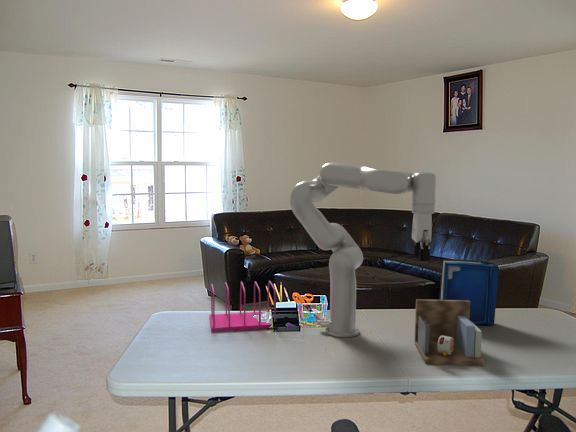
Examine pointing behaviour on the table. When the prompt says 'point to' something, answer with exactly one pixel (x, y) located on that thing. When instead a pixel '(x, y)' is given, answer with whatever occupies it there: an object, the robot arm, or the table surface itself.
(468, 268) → the book
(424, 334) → the bookend
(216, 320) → the file sorter
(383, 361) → the table surface
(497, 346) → the table surface
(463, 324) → the standing books
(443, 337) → the roller toy
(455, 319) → the shelf
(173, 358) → the table surface
